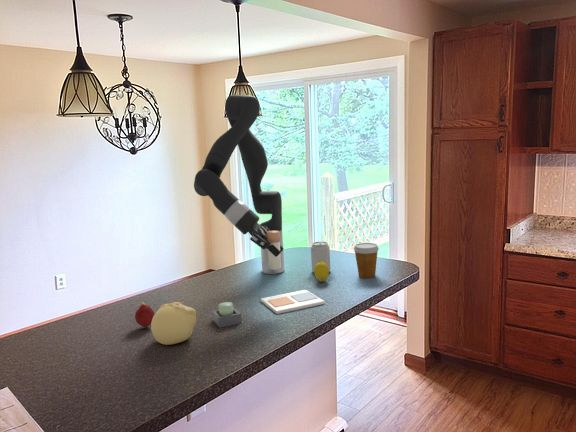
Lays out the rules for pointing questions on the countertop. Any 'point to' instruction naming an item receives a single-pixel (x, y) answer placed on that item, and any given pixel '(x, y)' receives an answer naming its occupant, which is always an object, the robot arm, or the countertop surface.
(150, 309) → the onion
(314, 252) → the can
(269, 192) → the robot arm
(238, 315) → the button housing
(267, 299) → the picture board
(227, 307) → the button
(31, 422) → the countertop surface
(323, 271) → the lemon
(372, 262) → the disposable coffee cup
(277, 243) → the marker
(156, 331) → the pale yellow lumpy ball
